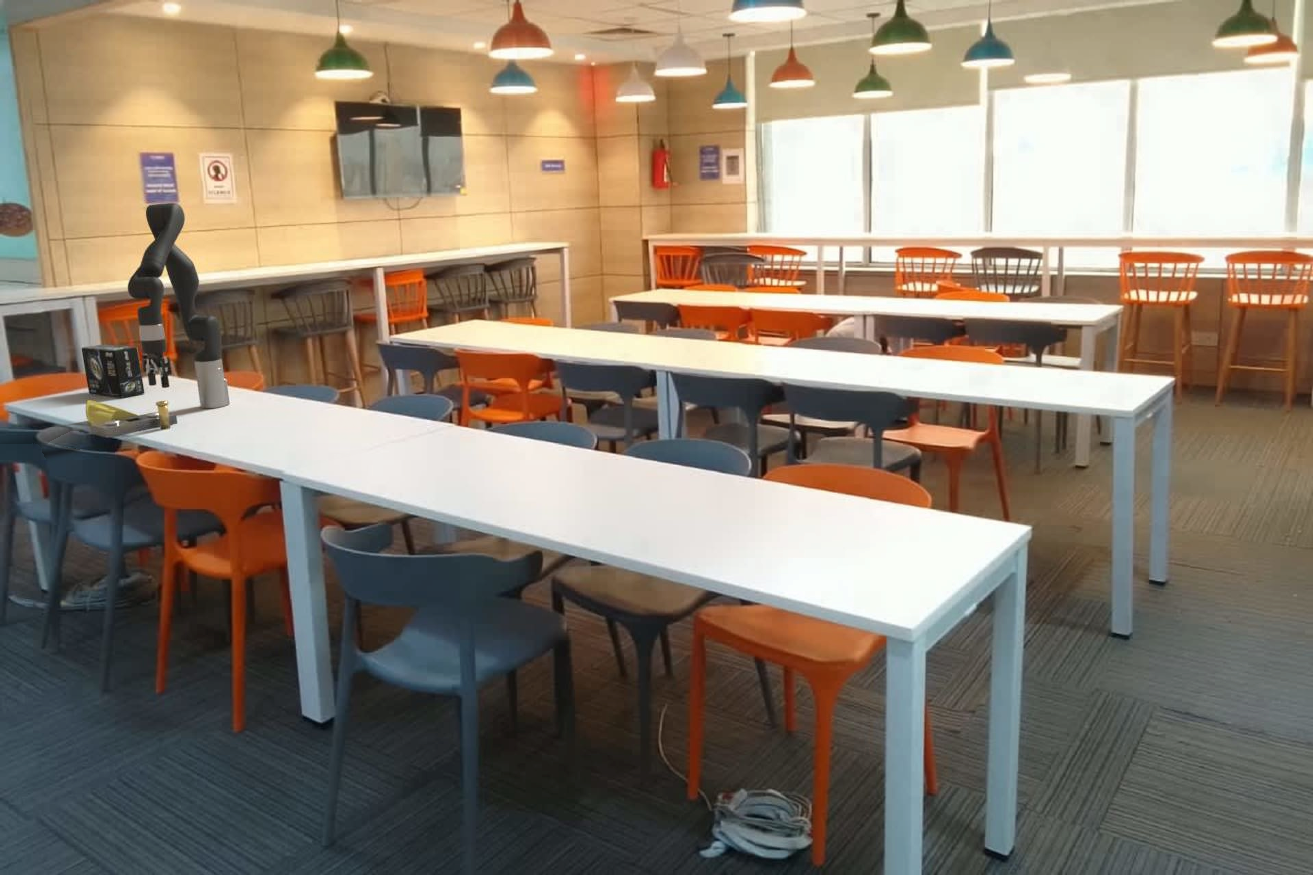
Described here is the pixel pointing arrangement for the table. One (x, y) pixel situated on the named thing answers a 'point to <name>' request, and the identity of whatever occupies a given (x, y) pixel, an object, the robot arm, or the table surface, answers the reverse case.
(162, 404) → the pin
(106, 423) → the grey slotted plate
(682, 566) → the table surface
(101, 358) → the box
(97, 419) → the plastic component
